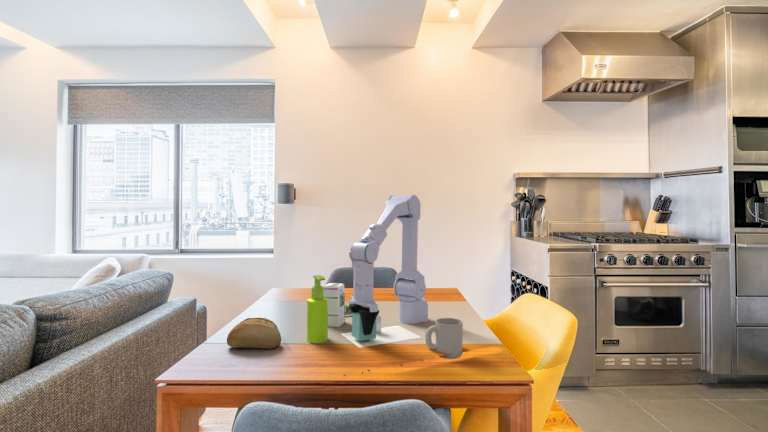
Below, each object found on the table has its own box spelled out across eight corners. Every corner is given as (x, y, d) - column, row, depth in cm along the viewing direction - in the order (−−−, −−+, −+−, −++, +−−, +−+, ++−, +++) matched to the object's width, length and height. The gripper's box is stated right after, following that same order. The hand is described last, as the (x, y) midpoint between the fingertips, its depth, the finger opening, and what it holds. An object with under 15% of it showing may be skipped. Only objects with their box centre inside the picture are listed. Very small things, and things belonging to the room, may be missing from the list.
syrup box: (339, 331, 130) (340, 286, 130) (322, 330, 131) (322, 285, 131) (345, 326, 135) (345, 283, 135) (328, 325, 137) (328, 282, 137)
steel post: (377, 330, 126) (377, 314, 126) (381, 332, 123) (381, 316, 123) (369, 331, 125) (369, 315, 125) (373, 334, 122) (373, 317, 122)
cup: (465, 358, 106) (465, 324, 106) (427, 359, 106) (427, 325, 106) (458, 349, 113) (458, 317, 113) (423, 350, 113) (423, 318, 113)
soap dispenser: (311, 350, 112) (311, 278, 112) (304, 343, 118) (304, 274, 118) (331, 347, 115) (332, 276, 114) (323, 340, 121) (323, 273, 120)
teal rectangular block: (368, 333, 120) (368, 311, 120) (375, 338, 115) (376, 315, 115) (351, 335, 117) (352, 312, 117) (359, 340, 113) (359, 316, 113)
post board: (398, 329, 132) (398, 325, 132) (421, 342, 119) (421, 337, 119) (340, 338, 123) (340, 333, 123) (359, 353, 110) (359, 347, 110)
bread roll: (232, 342, 119) (232, 315, 119) (284, 341, 120) (284, 314, 120) (222, 353, 110) (222, 324, 110) (278, 352, 111) (278, 323, 111)
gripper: (341, 281, 121) (341, 327, 121) (361, 289, 108) (360, 340, 108) (362, 279, 124) (362, 324, 124) (384, 287, 111) (384, 337, 111)
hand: (363, 331), depth 116 cm, fingers closed on teal rectangular block, 5 cm apart
